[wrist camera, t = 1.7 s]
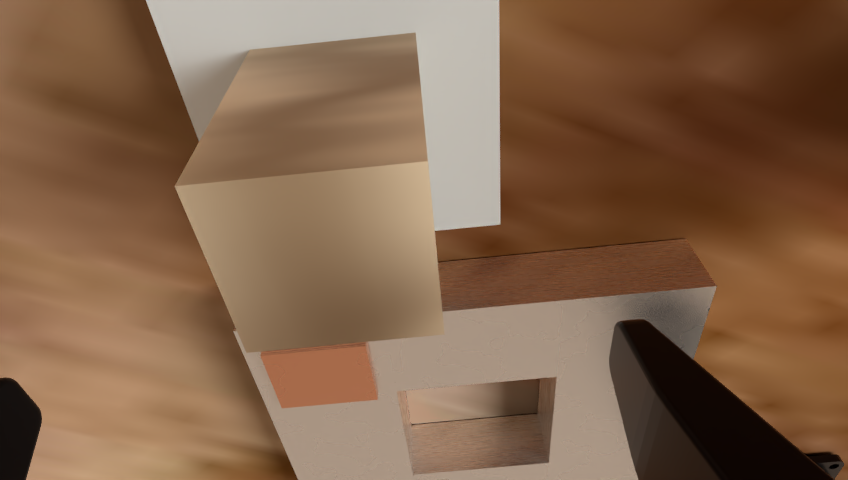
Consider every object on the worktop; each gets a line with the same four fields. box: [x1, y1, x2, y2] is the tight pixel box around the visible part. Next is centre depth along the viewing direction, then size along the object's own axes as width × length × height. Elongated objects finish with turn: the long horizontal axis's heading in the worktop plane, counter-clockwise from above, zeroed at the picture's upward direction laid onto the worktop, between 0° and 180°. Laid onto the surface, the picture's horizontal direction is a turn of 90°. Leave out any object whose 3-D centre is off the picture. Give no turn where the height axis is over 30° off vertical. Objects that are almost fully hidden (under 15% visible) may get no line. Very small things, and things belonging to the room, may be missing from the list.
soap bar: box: [146, 0, 500, 231], centre depth 16 cm, size 8×8×2 cm
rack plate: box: [233, 239, 717, 480], centre depth 24 cm, size 16×14×3 cm
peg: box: [175, 33, 445, 353], centre depth 12 cm, size 4×4×6 cm
